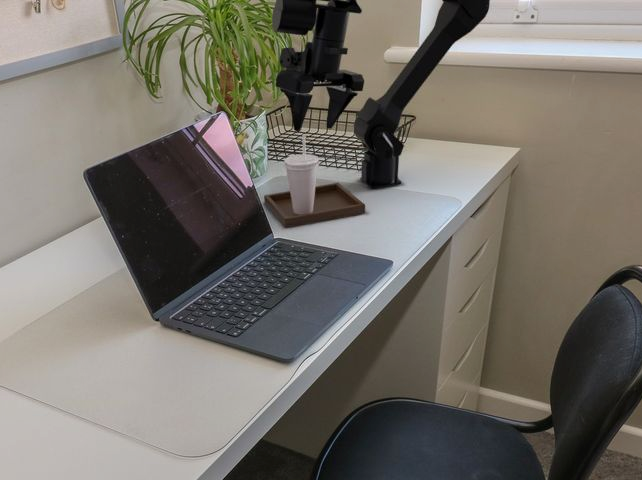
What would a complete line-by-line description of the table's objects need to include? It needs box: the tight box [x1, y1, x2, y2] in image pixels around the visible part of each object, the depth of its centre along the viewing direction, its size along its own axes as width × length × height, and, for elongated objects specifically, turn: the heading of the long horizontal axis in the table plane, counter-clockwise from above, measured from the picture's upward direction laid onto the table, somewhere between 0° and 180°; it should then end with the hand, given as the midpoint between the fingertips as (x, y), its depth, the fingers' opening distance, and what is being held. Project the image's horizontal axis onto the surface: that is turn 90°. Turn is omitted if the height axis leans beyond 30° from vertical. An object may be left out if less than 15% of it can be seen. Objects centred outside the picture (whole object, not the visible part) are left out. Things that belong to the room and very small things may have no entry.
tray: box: [263, 182, 366, 229], centre depth 132 cm, size 16×14×2 cm
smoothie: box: [283, 133, 320, 215], centre depth 126 cm, size 6×6×14 cm
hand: (313, 129), depth 132 cm, fingers open, 9 cm apart
